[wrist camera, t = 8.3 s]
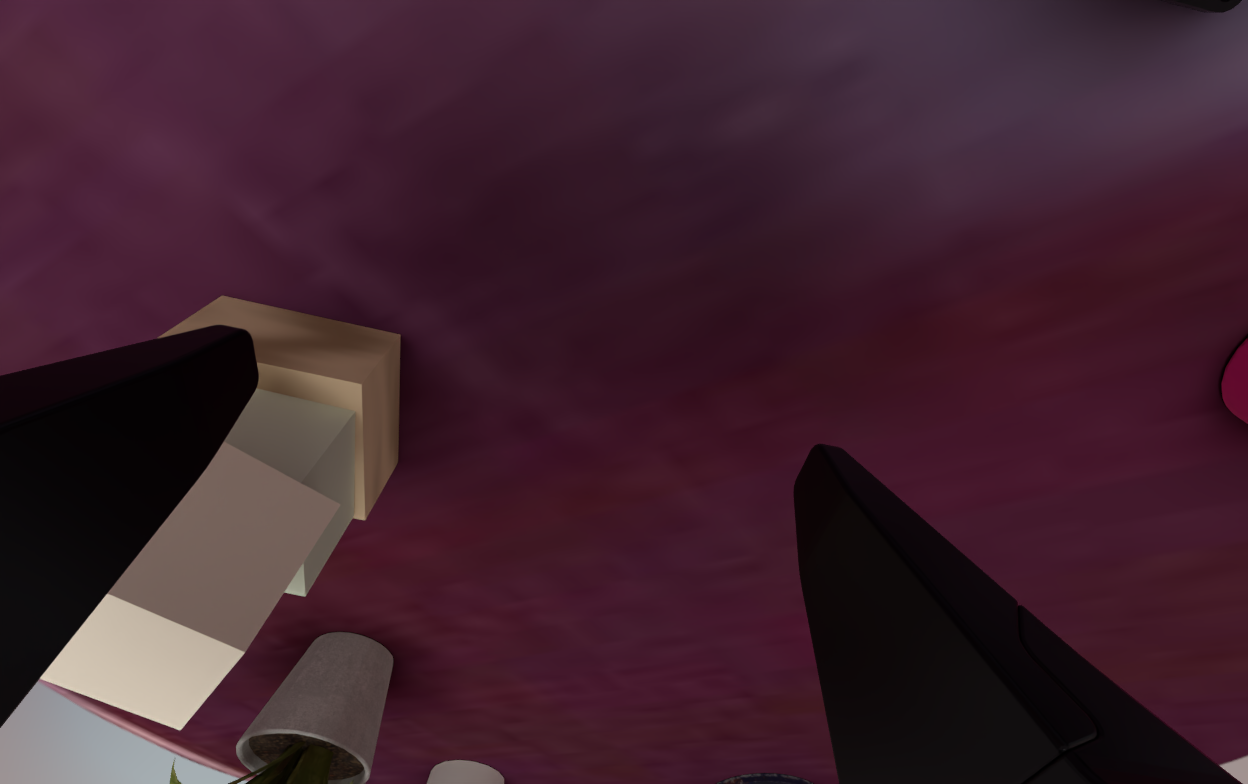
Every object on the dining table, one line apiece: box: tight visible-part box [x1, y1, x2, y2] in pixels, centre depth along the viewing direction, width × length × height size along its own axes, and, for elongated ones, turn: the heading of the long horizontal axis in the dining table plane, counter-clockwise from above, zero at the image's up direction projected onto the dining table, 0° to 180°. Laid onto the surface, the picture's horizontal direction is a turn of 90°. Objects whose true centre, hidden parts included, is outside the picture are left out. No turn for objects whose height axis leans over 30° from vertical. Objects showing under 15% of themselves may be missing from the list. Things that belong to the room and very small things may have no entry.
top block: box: [224, 388, 355, 596], centre depth 20 cm, size 6×6×4 cm
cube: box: [40, 442, 340, 730], centre depth 16 cm, size 5×5×5 cm
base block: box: [158, 296, 401, 520], centre depth 24 cm, size 7×7×4 cm
